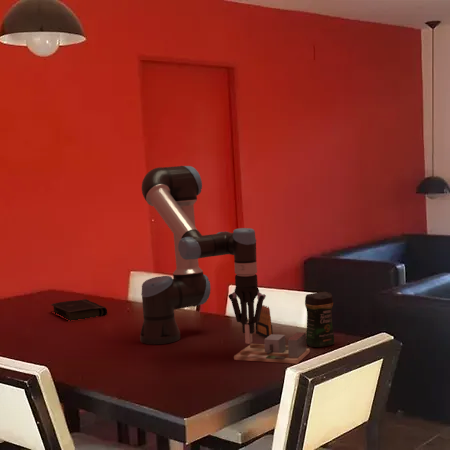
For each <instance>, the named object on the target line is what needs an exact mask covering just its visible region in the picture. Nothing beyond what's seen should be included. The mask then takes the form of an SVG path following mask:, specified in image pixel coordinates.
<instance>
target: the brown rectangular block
mask: <svg viewBox="0 0 450 450" xmlns="http://www.w3.org/2000/svg"><path fill="white" fill-rule="evenodd" d="M287 346H288V354H289V358H298V357H300V356H301V355H302V354H303V353H304V352H305V351H306V349H307V344H306V332H301V331H300V332H299V331H298V332H296V333H294V334H293V335H292V336H291V337H289V338H288V339H287Z"/></svg>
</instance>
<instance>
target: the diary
mask: <svg viewBox="0 0 450 450" xmlns="http://www.w3.org/2000/svg"><path fill="white" fill-rule="evenodd" d="M50 306H53V311H50V312H51V313H52V312H55V314H56V313H57V314H59V315H61V316H63V317H64V318H66V319H68V320H70V321H71V320H78V319H84V320H86V319H85V318H90V317H93V318H97V317H96V316H99V315H100V316H99V317H103V316H105V315H108V309H107V307H106V306H104V305H103V306H102V305H101V304H98V303H96V302H94V301H91V300H89V299H84V298H83V299H79V300H77V299H76V300H66V301H59V302H54V303H51V304H50ZM103 314H104V315H103ZM90 319H91V318H90ZM78 321H79V320H78Z"/></svg>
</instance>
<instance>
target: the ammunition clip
mask: <svg viewBox="0 0 450 450" xmlns="http://www.w3.org/2000/svg"><path fill="white" fill-rule="evenodd" d="M255 306H257V304H256V305H255ZM255 334H256V335H258V336H260V337H263V338H264V339H265V338H267V337H268V336H270V335H271V334H274V333H273V325H272V317H271V309H270V307H269V306H267V305H264V304H262V309H261V315H260V320H259V321H258V322H257V323H255Z"/></svg>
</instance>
